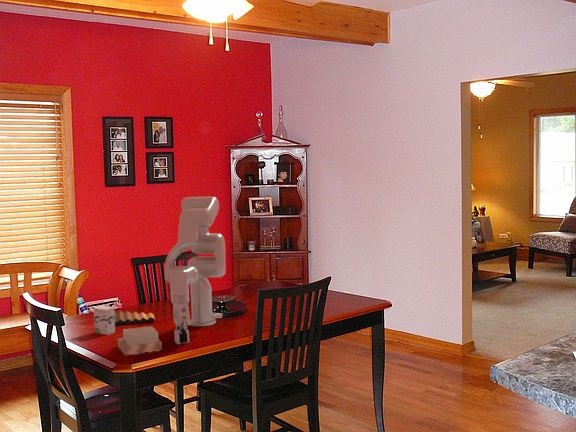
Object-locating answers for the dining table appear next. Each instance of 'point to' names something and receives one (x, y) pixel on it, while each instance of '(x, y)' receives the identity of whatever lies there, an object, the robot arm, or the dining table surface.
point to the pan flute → (132, 318)
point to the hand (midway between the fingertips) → (181, 340)
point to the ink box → (104, 320)
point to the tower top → (140, 335)
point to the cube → (177, 336)
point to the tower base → (138, 347)
